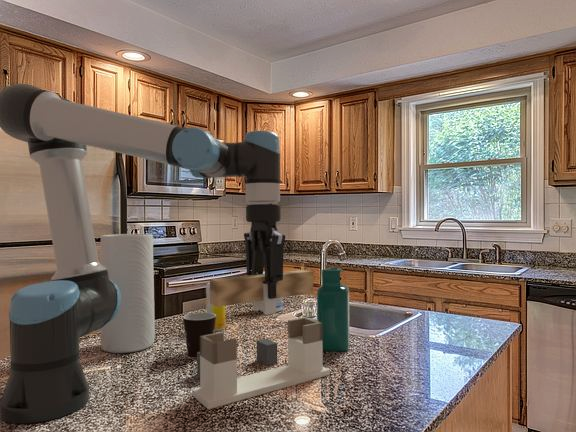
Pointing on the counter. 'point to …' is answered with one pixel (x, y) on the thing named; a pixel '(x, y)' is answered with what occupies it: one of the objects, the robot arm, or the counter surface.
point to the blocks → (258, 353)
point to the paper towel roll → (130, 292)
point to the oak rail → (258, 287)
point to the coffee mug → (197, 330)
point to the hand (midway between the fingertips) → (264, 311)
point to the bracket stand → (228, 388)
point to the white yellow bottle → (215, 311)
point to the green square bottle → (333, 311)
